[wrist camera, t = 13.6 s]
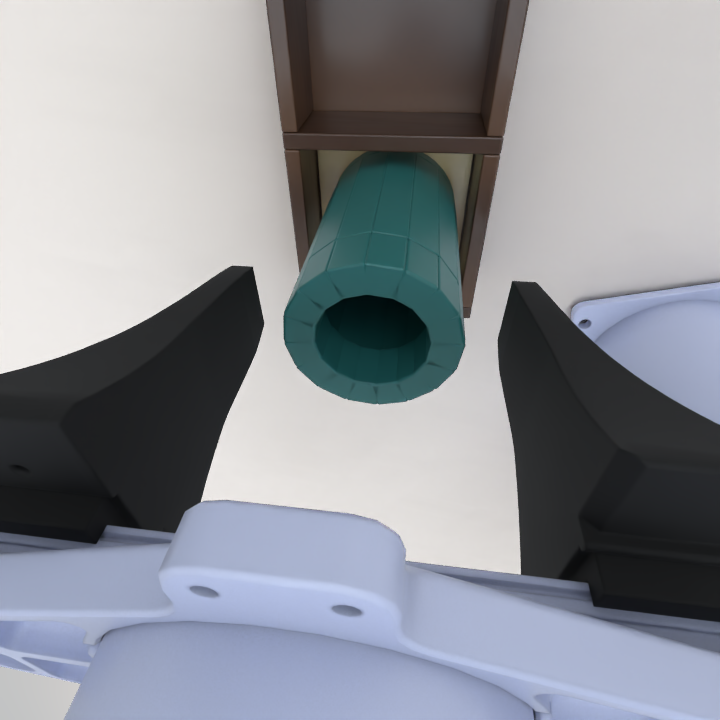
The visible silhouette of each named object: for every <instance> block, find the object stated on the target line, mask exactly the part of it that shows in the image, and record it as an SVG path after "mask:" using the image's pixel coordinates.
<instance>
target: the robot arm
mask: <svg viewBox="0 0 720 720" xmlns="http://www.w3.org/2000/svg"><path fill="white" fill-rule="evenodd" d="M582 320H588V321H587V322H585V323H579V322H581V321H582ZM263 327H264V320H263V315H262V310H261V305H260V300H259V295H258V290H257V285H256V281H255V276H254V271H253V267H247V266H231V267H229V268H227V269H225V270H224V271H222V272H221V273H219V274H218V275H216V276H215V277H213V278H212V279H210V280H209V281H207V282H206V283H204V284H203V285H201V286H200V287H198V288H197V289H195V290H194V291H192V292H191V293H189V294H188V295H186V296H185V297H183V298H182V299H180V300H179V301H177V302H175V303H174V304H172V305H171V306H169V307H167V308H166V309H164V310H162V311H161V312H159V313H157V314H156V315H154V316H152V317H151V318H149V319H147V320H145V321H143V322H142V323H140V324H138V325H136V326H134V327H132V328H130V329H128V330H126V331H124V332H122V333H120V334H117V335H115V336H113V337H111V338H108V339H106V340H103V341H101V342H98V343H96V344H94V345H91V346H89V347H86V348H84V349H81V350H79V351H76V352H73V353H70V354H68V355H65V356H62V357H59V358H56V359H53V360H50V361H46V362H43V363H40V364H37V365H33V366H30V367H26V368H23V369H19V370H15V371H11V372H7V373H3V374H0V666H1V667H6V668H10V669H15V670H20V671H24V672H29V673H33V674H38V675H43V676H47V677H51V678H56V679H61V680H66V681H70V682H74V683H79V684H81V685H80V687H79V689H78V691H77V693H76V695H75V697H74V699H73V701H72V703H71V705H70V708H69V710H68V712H67V714H66V716H65V718H64V720H720V282H716V283H709V284H702V285H695V286H688V287H681V288H674V289H667V290H660V291H653V292H646V293H639V294H632V295H625V296H618V297H611V298H604V299H597V300H590V301H584V302H580V303H578V304H576V305H575V306H574V307H573V308H572V311H571V320H570V319H569V318H568V317H567V315H566V314H565V313H564V312H563V311H562V310H561V309H560V308H559V307H558V306H557V305H556V304H555V302H554V301H553V300H552V299H551V298H550V297H549V296H548V295H547V294H546V292H545V291H544V290H543V289H542V288H541V287H540V286H539V285H538V284H537V283H536V282H520V281H512V285H511V289H510V293H509V297H508V301H507V305H506V309H505V313H504V317H503V321H502V325H501V329H500V333H499V337H498V358H499V371H500V377H501V382H502V387H503V392H504V398H505V402H506V407H507V412H508V417H509V422H510V427H511V432H512V438H513V445H514V452H515V464H516V477H517V492H518V508H519V528H520V552H521V575H518V574H509V573H501V572H493V571H484V570H476V569H468V568H460V567H451V566H443V565H435V564H426V563H418V562H410V561H405V557H406V549H405V547H404V545H403V542H402V540H401V538H400V536H399V535H398V534H397V533H396V532H395V531H394V530H392V529H390V528H389V527H387V526H385V525H384V524H382V523H380V522H379V521H377V520H374V519H370V518H366V517H362V516H358V515H354V514H349V513H340V512H331V511H322V510H313V509H304V508H295V507H286V506H277V505H267V504H258V503H249V502H240V501H231V500H217V501H203V502H201V499H202V495H203V491H204V487H205V483H206V480H207V476H208V473H209V470H210V466H211V463H212V460H213V456H214V453H215V450H216V447H217V443H218V440H219V437H220V434H221V431H222V428H223V425H224V422H225V420H226V418H227V415H228V413H229V410H230V408H231V406H232V404H233V402H234V399H235V397H236V395H237V393H238V391H239V389H240V387H241V384H242V382H243V380H244V378H245V376H246V374H247V371H248V369H249V367H250V365H251V363H252V360H253V358H254V356H255V354H256V351H257V348H258V345H259V341H260V338H261V334H262V330H263ZM200 502H201V503H200Z"/></svg>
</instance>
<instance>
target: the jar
mask: <svg viewBox="0 0 720 720" xmlns="http://www.w3.org/2000/svg"><path fill="white" fill-rule="evenodd" d="M284 340H285V345H286V347H287V349H288V351H289V353H290V355H291V357H292V359H293V361H294V363H295V365H296V366H297V368H298V369H299V370H300V371H301V372H302V373H303V374H304V375H306V376H307V377H308V378H309V379H310V380H311V381H312V382H313V383H314V384H316V385H317V386H319V387H320V388H322V389H324V390H327V391H329V392H331V393H333V394H335V395H338V396H340V397H342V398H344V399H348V400H353V401H359V402H365V403H371V404H377V403H378V404H388V403H398V402H406V401H407V400H412V399H414V398H417V397H419V396H422V395H424V394H426V393H429V392H431V391H433V390H434V389H437V388H438V387H439V386H440V385H441V384H442V383H443V382H444V381H445V380H446V379H447V378H448V377H449V376H451V375H452V374H453V373H454V371H455V370H456V369H457V367H458V364H459V361H460V359H461V356H462V353H463V350H464V348H465V330H464V316H463V301H462V287H461V273H460V260H459V246H458V232H457V218H456V209H455V202H454V193H453V189H452V186H451V183H450V180H449V179H448V177H447V175H446V173H445V172H444V170H443V169H442V168H441V166H440V165H439V164H438V163H437V162H436V161H435V160H433V159H432V158H431V157H429V156H428V155H426V154H424V153H416V152H376V151H367V152H365V153H363V154H362V155H360V156H359V157H357V158H356V159H355V160H354V161H352V162H351V163H350V164H349V165H348V167H347V168H346V169H345V170H344V172H343V173H342V175H341V177H340V179H339V181H338V183H337V186H336V188H335V189H334V191H333V193H332V196H331V198H330V201H329V203H328V206H327V208H326V211H325V213H324V215H323V218H322V220H321V223H320V225H319V228H318V230H317V233H316V235H315V238H314V240H313V242H312V245H311V247H310V250H309V252H308V255H307V257H306V260H305V262H304V264H303V267H302V269H301V272H300V274H299V277H298V279H297V282H296V284H295V287H294V289H293V292H292V294H291V297H290V299H289V301H288V304H287V306H286V309H285V311H284Z"/></svg>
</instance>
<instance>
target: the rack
mask: <svg viewBox="0 0 720 720" xmlns="http://www.w3.org/2000/svg"><path fill="white" fill-rule="evenodd" d="M528 5H529V0H266V6H267V14H268V22H269V30H270V38H271V46H272V54H273V62H274V71H275V79H276V87H277V95H278V103H279V111H280V119H281V127H282V131H283V134H282V135H283V143H284V148H285V159H286V167H287V175H288V183H289V191H290V200H291V208H292V216H293V224H294V232H295V240H296V248H297V256H298V264H299V272H301V269H302V267H303V264H304V262H305V260H306V257H307V255H308V252H309V250H310V247H311V245H312V242H313V240H314V238H315V235H316V233H317V230H318V228H319V225H320V223H321V220H322V218H323V215H324V213H325V211H326V208H327V206H328V203H329V201H330V198H331V196H332V193H333V191H334V189H335V188H336V186H337V183H338V181H339V179H340V177H341V175H342V173H343V172H344V170H345V169H346V168H347V167H348V165H349V164H350V163H351V162H352V161H354V160H355V159H356V158H357V157H359V156H360V155H362V154H363V153H365V152H367V151H376V152H416V153H424V154H426V155H428V156H429V157H431V158H432V159H433V160H435V161H436V162H437V163H438V164H439V165H440V166H441V168H442V169H443V170H444V172H445V173H446V175H447V177H448V179H449V180H450V183H451V186H452V189H453V193H454V202H455V209H456V218H457V232H458V246H459V260H460V273H461V287H462V301H463V316H464V318H469V317H470V314H471V307H472V303H473V298H474V292H475V287H476V282H477V276H478V271H479V266H480V260H481V255H482V250H483V244H484V239H485V234H486V228H487V223H488V218H489V212H490V207H491V202H492V196H493V191H494V186H495V180H496V175H497V170H498V165H499V159H500V155H499V154H500V153H501V149H502V143H503V136H504V133H505V127H506V122H507V117H508V111H509V106H510V101H511V95H512V90H513V85H514V79H515V74H516V69H517V63H518V58H519V53H520V47H521V42H522V37H523V31H524V26H525V21H526V15H527V10H528Z"/></svg>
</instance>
